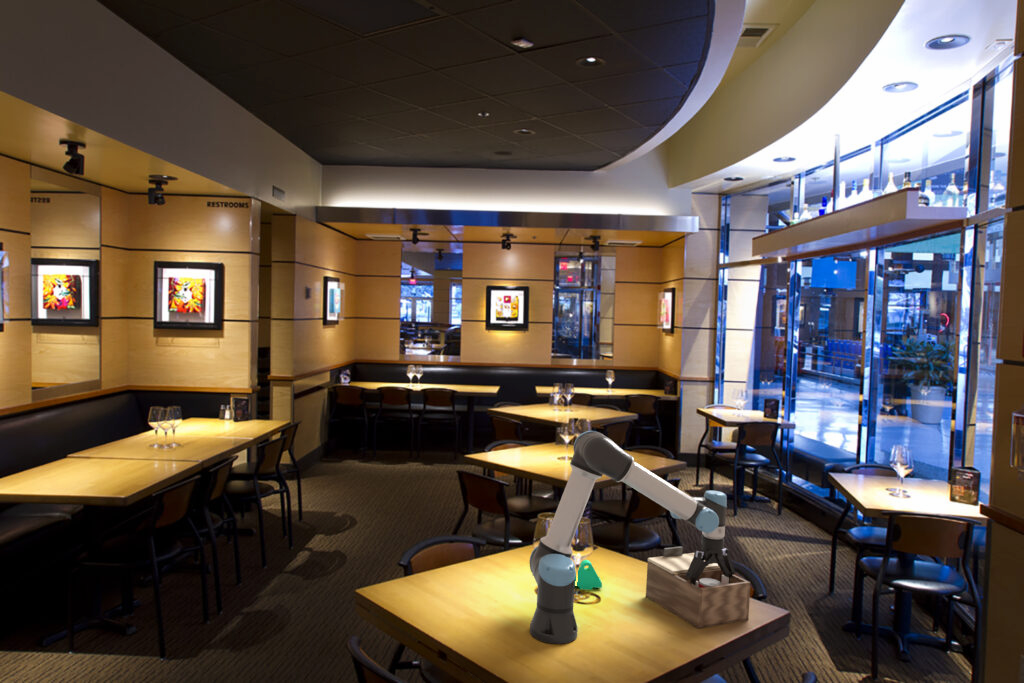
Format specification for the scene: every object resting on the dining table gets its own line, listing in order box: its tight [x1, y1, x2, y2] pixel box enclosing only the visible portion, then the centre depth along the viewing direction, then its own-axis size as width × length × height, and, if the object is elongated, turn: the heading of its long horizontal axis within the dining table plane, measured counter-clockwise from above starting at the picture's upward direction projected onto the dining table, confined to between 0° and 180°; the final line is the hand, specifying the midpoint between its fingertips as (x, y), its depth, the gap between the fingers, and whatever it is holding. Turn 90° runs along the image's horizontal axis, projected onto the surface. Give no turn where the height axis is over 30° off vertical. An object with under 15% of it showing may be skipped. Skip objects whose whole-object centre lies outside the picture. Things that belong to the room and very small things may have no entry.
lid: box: [647, 545, 720, 574], centre depth 243 cm, size 22×14×4 cm, turn 115°
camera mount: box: [575, 559, 603, 590], centre depth 252 cm, size 12×8×10 cm, turn 91°
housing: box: [645, 560, 751, 630], centre depth 236 cm, size 22×28×13 cm
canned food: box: [699, 578, 722, 588], centre depth 230 cm, size 8×8×11 cm
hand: (709, 597), depth 230 cm, fingers open, 13 cm apart
